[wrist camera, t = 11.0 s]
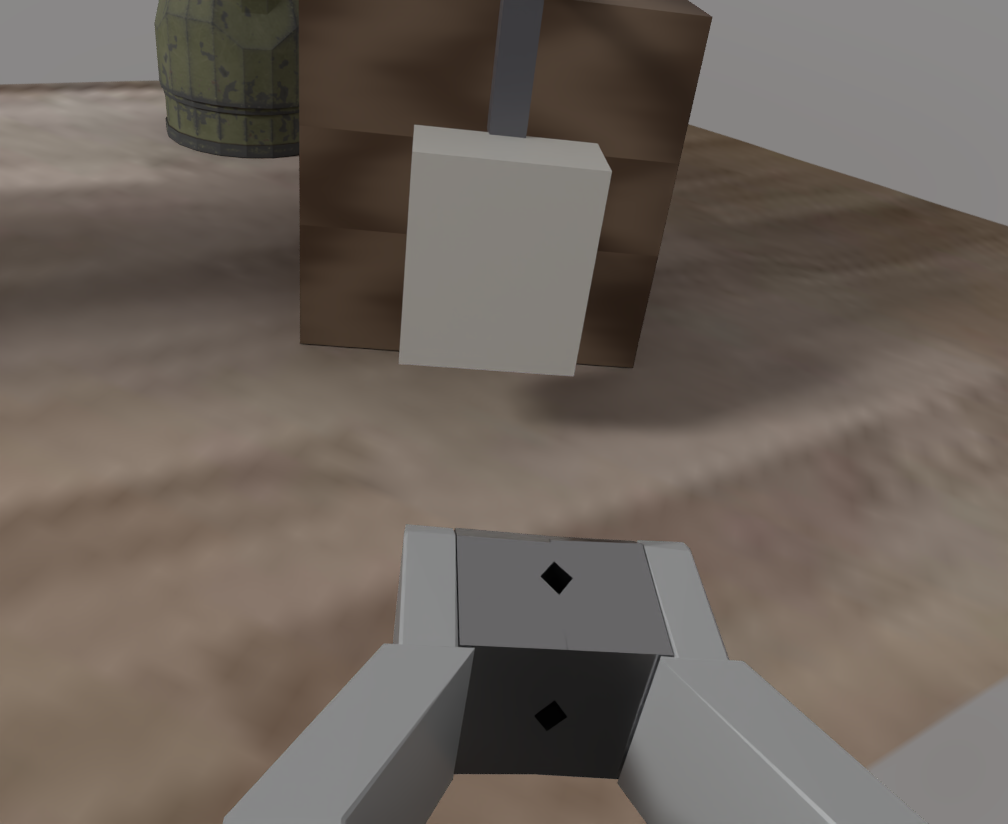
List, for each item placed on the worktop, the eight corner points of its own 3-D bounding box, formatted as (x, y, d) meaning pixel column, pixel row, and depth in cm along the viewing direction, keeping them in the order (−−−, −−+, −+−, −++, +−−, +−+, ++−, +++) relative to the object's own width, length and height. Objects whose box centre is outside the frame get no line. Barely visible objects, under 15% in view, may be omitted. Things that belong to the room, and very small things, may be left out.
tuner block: (300, 343, 31) (298, -44, 25) (333, 219, 41) (338, -80, 35) (632, 367, 33) (714, 7, 26) (586, 241, 43) (637, -42, 36)
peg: (398, 363, 25) (425, -57, 19) (412, 178, 38) (430, -103, 33) (573, 376, 26) (649, -28, 20) (526, 189, 39) (564, -85, 33)
